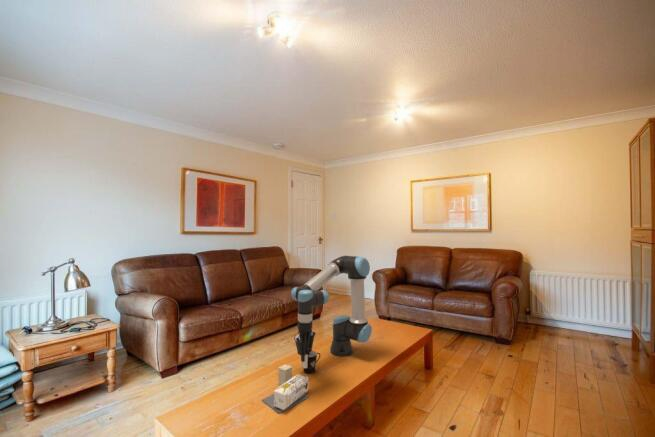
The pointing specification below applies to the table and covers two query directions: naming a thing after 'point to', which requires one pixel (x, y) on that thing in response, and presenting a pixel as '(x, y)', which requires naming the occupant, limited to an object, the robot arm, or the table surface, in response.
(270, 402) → the mat
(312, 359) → the coffee mug
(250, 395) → the table surface
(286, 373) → the sandstone block
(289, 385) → the juice carton
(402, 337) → the table surface
